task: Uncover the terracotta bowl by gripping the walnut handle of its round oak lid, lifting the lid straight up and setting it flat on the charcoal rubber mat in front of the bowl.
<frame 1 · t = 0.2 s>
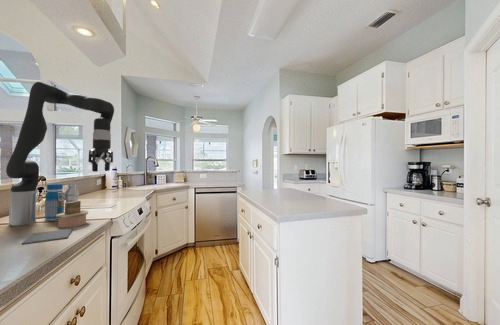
hand: (101, 171, 110), 28 cm above the countertop, tool pointing down, fingers open, 8 cm apart
oak lid: (72, 214, 114), point 5 cm above the countertop, touching terracotta bowl
charcoal mat: (49, 236, 95), on the countertop
plastic bottle: (71, 218, 126), on the countertop
beverage bottle: (54, 219, 124), on the countertop
terracotta bowl: (72, 224, 114), on the countertop, touching oak lid
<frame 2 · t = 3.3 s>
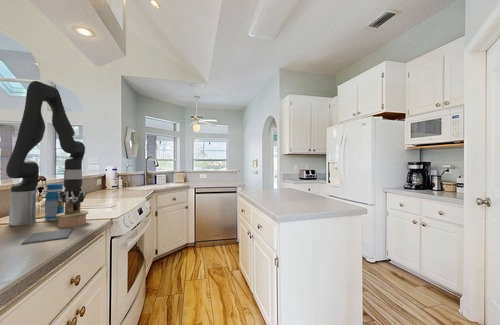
hand: (72, 210, 114), 7 cm above the countertop, tool pointing down, fingers closed on oak lid, 3 cm apart
oak lid: (72, 214, 114), point 5 cm above the countertop, touching gripper, terracotta bowl
everything else where it was.
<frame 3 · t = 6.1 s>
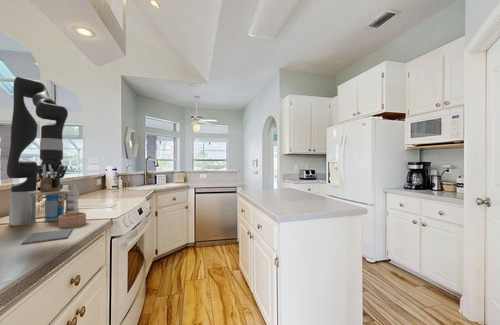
hand: (51, 187, 96), 21 cm above the countertop, tool pointing down, fingers closed on oak lid, 3 cm apart
oak lid: (50, 193, 95), point 19 cm above the countertop, touching gripper
terracotta bowl: (72, 224, 114), on the countertop
everything else where it was.
when the fingers open (4 cm above the countertop, at t = 8.9 s): oak lid drops 2 cm, resting on charcoal mat.
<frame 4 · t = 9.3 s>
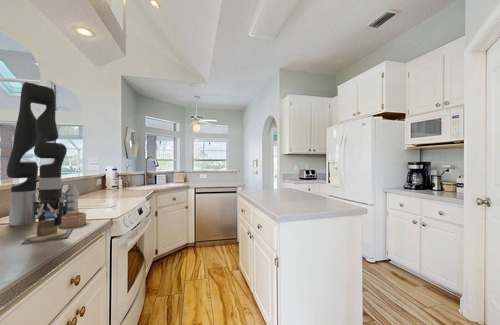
hand: (49, 224, 95), 5 cm above the countertop, tool pointing down, fingers open, 7 cm apart
oak lid: (47, 235, 94), point 1 cm above the countertop, touching charcoal mat
everything else where it was.
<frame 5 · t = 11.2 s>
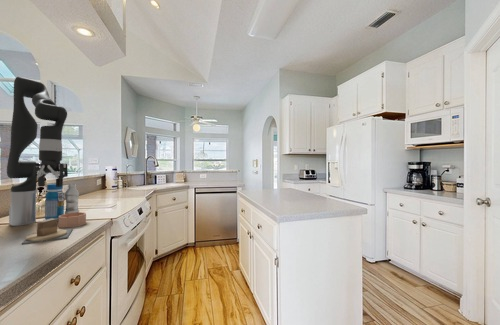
hand: (50, 186, 95), 22 cm above the countertop, tool pointing down, fingers open, 8 cm apart
nothing on the countertop moved.
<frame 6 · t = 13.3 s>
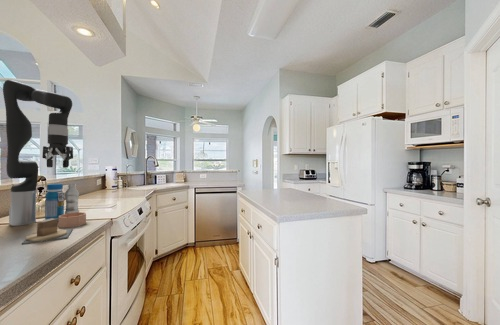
hand: (57, 167, 107), 30 cm above the countertop, tool pointing down, fingers open, 8 cm apart
nothing on the countertop moved.
at the end: oak lid inside the target area on the charcoal mat (1.0 cm from its centre), point 0.6 cm above the charcoal mat's base; oak lid tilted 0°; terracotta bowl moved 0.0 cm from its start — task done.
